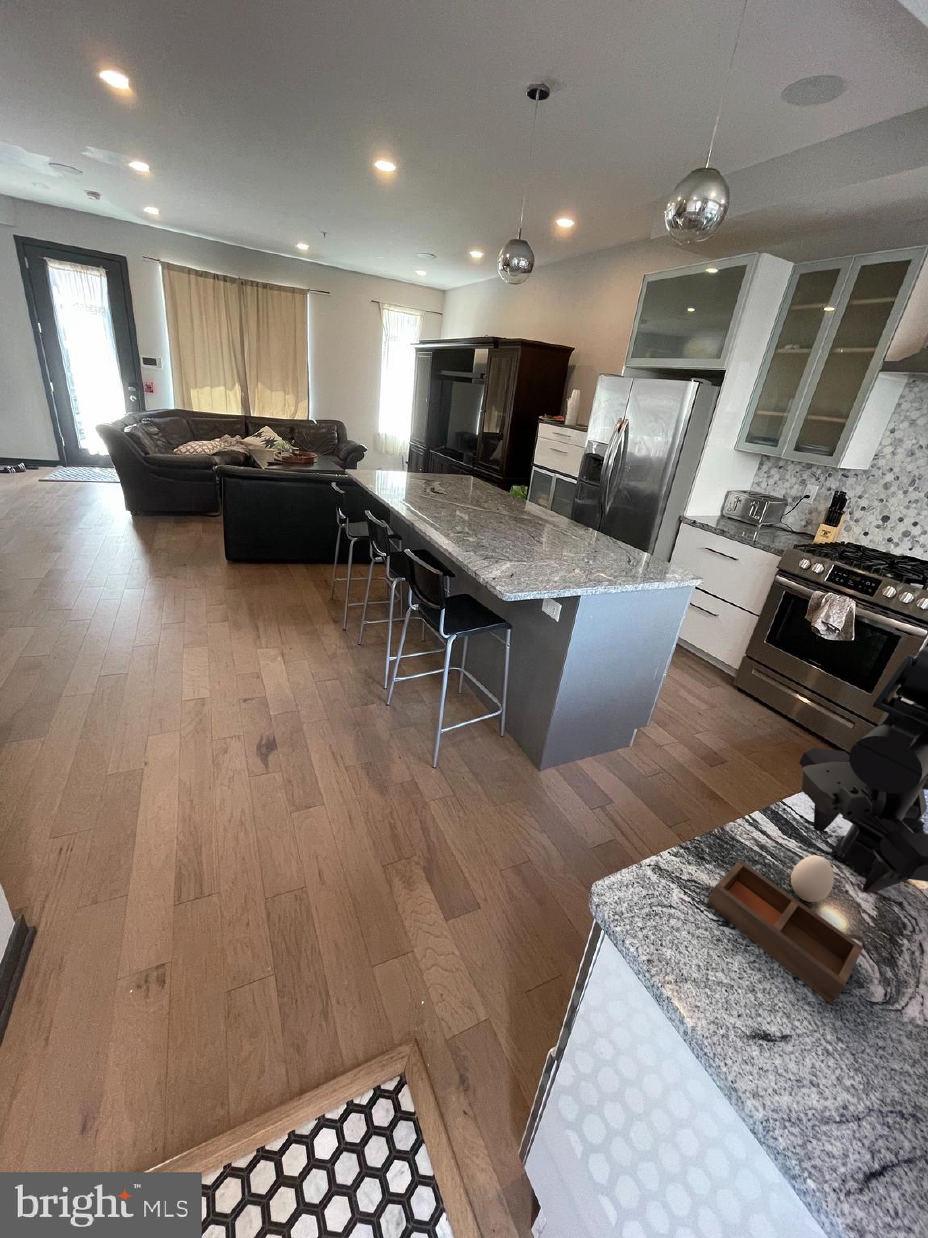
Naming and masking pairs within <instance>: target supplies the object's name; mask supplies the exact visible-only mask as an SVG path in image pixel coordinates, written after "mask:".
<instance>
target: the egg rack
mask: <svg viewBox="0 0 928 1238" xmlns="http://www.w3.org/2000/svg"><path fill="white" fill-rule="evenodd" d="M706 905H707V906H709V908H711V909H712V910H714V911H715V912H716V913H717V914H718V915H720V916H721V917H722V918H723V919H725V920H726V921H727V922H728V923H729V924H731V925H732V926H733V927H734V928H736V929H737V930H738V931H740V932H741V933H742V934H743V935H744V936H746V937H747V938H748V939H749V940H751V941H752V942H753V943H754V944H755V945H757V946H758V947H759V948H760V949H761V950H763V951H765V953H767V954H768V955H769V956H771V957H772V958H773V959H774V960H775V961H777V962H778V963H780V965H782V967H784V968H785V969H786V970H788V971H789V972H790V973H792V975H794V976H795V977H796V978H797V979H799V980H800V981H801V982H802V983H804V984H805V985H806V986H807V987H809V988H810V989H811V990H813V992H815V993H816V994H817V995H818V996H820V997H821V998H822V999H823V1000H824V1001H826V1002H827V1003H829V1004H830V1005H833V1003H834V1002H835V1001H836V1000H837V998H838V997H839V995H840V994H841V992H842V991H843V989H844V988H845V986H846V985H847V982H848V980H849V978H850V976H851V974H852V972H853V970H854V968H855V966H856V964H857V962H858V960H859V957H860V956H861V954H862V951H863V949H864V947H863V946H862V945H861V944H860V943H858V942H857V941H855V940H854V939H853V938H851V937H850V936H848V935H847V934H846V933H844V932H843V931H841V930H840V929H839V928H837V927H836V926H834V925H833V924H831V923H830V922H829V921H828V920H825V919H824V918H823V917H822V916H821V915H819V914H818V913H816V912H814V911H813V910H812V909H811V908H810V907H807V906H806V905H805V904H804V903H802V902H800V901H799V900H798V899H796V898H795V897H793V896H792V895H790V894H789V893H788V892H787V891H785V890H784V889H782V888H781V887H779V886H778V885H777V884H775V883H774V882H772V880H770V879H768V878H767V877H766V876H764V875H763V874H762V873H760V872H758V871H757V870H756V869H754V868H753V867H751V866H750V865H748V864H747V863H746V862H745V861H743V860H741V859H739V860H738V861H737V863H735V864H734V866H733V867H732V868H731V869H730V870H729V871H728V872H727V873H726V874H725V875H724V876H723V877H722V878H721V879H720V880H719V881H718V882H717V883H716V884H715V885H714V888H713V889H712V892H711V894H710V896H709V897H708V900H707V902H706Z"/></svg>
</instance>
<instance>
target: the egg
mask: <svg viewBox="0 0 928 1238" xmlns="http://www.w3.org/2000/svg"><path fill="white" fill-rule="evenodd" d="M790 882H791V887H792V889H793V892H794V893H795V894H796V896H797V897H798V898H799V899H801V900H803V901H805V902H809V903H816V902H820V901H822V900H824V899H826V898H828V896H829V894H830V893H831V891H832V889H833V886H834V883H835V874H834V868H833V866H832V865H831V863H830V862H829V860H827V859H826V858H825V857H823V856H820V855H810V856H807V857H804V858H803V859H801V860H799V861H798V862H797V864H796V865H795V866H794V868H793V869H792V872H791V877H790Z"/></svg>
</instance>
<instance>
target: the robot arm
mask: <svg viewBox="0 0 928 1238" xmlns="http://www.w3.org/2000/svg"><path fill="white" fill-rule="evenodd" d="M894 692H895V695H896V696H898V697H900V698H902V699H905V700H907V701H909V702H912V703H909V702H906V701H905V700H902V699H900V698H897V697H895V696H892V695H893V694H894ZM872 707H873V708H875V709H877V710H879V711H882V712H884V713H887V714H886V716H885V718H884V720H883V722H882V723H880V724H879V725H877V726H876V727H875V728H873V729H872V730H871V731H870V732H869V731H868V733H867V734H865V735H864V736H863V737H861V738H860V739H859V740H858V741H857V742H855V743H854V744H853V745H852V747H851V748H850V750H849V751H850V752H849V753H847V752H846V750H845V751H844V750H836V749H828V748H823V747H821V748H820V747H811V748H809V749H807V750H805V751H804V752H803V754H802V756H801V758H800V760H799V762H798V764H799V765H800V766H801V767H802V781H801V783H802V784H801V791H802V792H803V794H804V795H805V796H807V797H808V798H809V800H810V801H811V802H812V803H813V804H814V810H813V811H814V812H813V830H814V831H816V832H821V833H822V832H824V831H825V830H826V829H827V828H828V827H830V825H832V823H834V821H835V820H836V818H838V816H839V815H841V818H842V819H843V820H845V821H847V822H850V824H851V825H850V827H849V829H848V830H847V832H846V833H845V835H841V838H840V839H839V840H838V842H837V843H836V844H835V846H834V847H833V848H832V850H831V852H830V854H832V856H833V857H836V858H837V859H839V860H840V861H842V862H844V863H845V864H847V865H848V866H850V867H851V868H853V869H855V870H856V871H858V872H859V873H861V874H862V875H864V876H865V877H866V879H865V881H864V884H863V886H862V891H863V892H864V893H868V894H874V893H877V892H879V891H882V890H885V889H887V888H890V887H892V886H895V885H897V884H901V883H902V882H905V881H908V880H911V881H918V882H919V881H920V882H926V883H927V882H928V833H926V832H925V830H924V829H925V827H924V826H925V824H926V822H924V821H922V820H921V818H922V817H923V816H924V814H925V813H926V811H927V809H928V805H927V799H926V794H925V790H926V791H928V645H927V646H925V647H923V648H921V649H920V650H919V651H918V652H917V653H916V654H915V655H912V654H908V655H907V656H905V658H904V659H903V660H902V662H901V663H900V665H899V666H898V668H896V670H895V672H894V674H892V676H891V677H890V679H889V680H888V682H887V684H886V685H884V688H883V689H882V691H881V692H880V694H879V695H878V696H877V698H876V700H875V701H874V702H873V704H872Z"/></svg>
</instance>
